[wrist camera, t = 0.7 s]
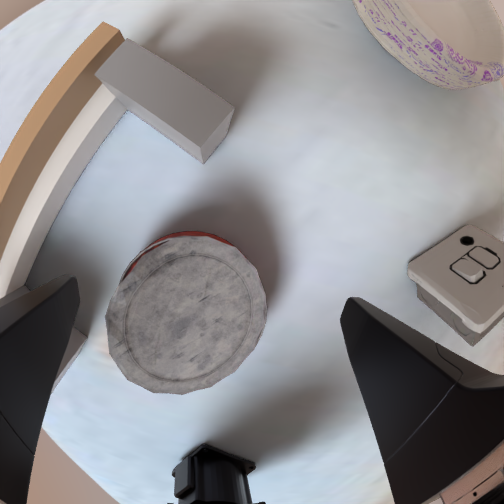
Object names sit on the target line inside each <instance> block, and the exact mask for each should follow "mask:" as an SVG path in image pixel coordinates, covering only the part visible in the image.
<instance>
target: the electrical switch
mask: <svg viewBox="0 0 504 504" xmlns="http://www.w3.org/2000/svg"><path fill="white" fill-rule="evenodd" d="M407 274H408V276H409V277H410V279H411V280H413V281H414V282H416V285H417V296H418V298H419V299H420V300H421V301H423V302H424V303H425V304H426V305H427V306H428V307H429V308H430V309H432V310H433V311H434V312H435V313H436V314H437V315H438V316H439V317H440V318H442V319H443V320H444V321H445V322H446V323H447V324H448V325H449V326H450V327H451V328H453V329H454V330H455V331H456V332H457V333H458V334H459V335H460V336H461V337H462V338H463V339H464V340H465V341H466V342H467V343H468V344H470V345H471V346H474V345H475V344H476V343H478V342H479V341H480V340H481V339H482V338H483V337H484V336H485V335H486V334H487V333H488V332H489V331H490V330H491V329H492V328H493V327H494V326H495V325H496V324H497V323H498V322H499V321H500V320H501V319H502V318H503V317H504V242H502V241H500V240H499V239H497V238H495V237H493V236H492V235H490V234H488V233H486V232H484V231H483V230H481V229H479V228H477V227H475V226H473V225H465V226H464V227H462V228H461V229H459V230H458V231H457V232H455V233H454V234H452V235H451V236H449V237H448V238H446V239H445V240H443V241H442V242H440V243H439V244H437V245H436V246H434V247H433V248H431V249H430V250H428V251H427V252H425V253H424V254H422V255H421V256H419V257H417V258H416V259H414V260H413V261H411V262H410V263H409V264H408V271H407ZM438 302H439V303H438ZM473 340H474V341H473ZM472 343H473V344H472Z"/></svg>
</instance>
